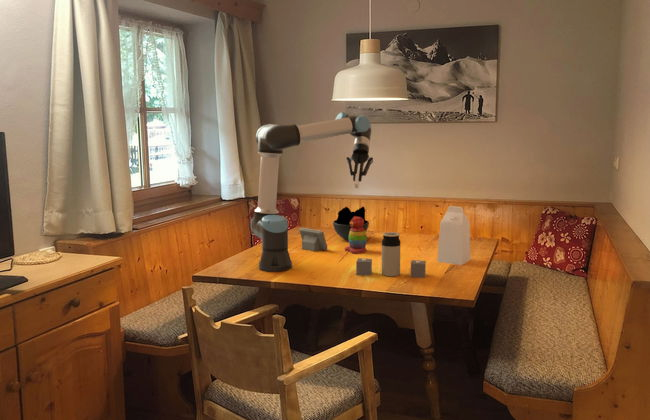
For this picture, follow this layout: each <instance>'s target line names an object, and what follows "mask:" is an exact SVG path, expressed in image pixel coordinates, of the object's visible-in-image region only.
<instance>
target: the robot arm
mask: <svg viewBox="0 0 650 420" xmlns="http://www.w3.org/2000/svg"><path fill="white" fill-rule="evenodd" d="M344 135H350V136H352V137H353V138H354V141H353V149H352V154H351V156H349V157H348V156H347V157H346V162H347V163H348V167H349V174H350V176H351V177H353V178H352V179H353V180H352V181H353V182H354V188H355V189H359V186H360V182H362V179H363V176H364V177H365V176H367V174H368V172H369V169H370V167H371V164H373V163H374V159H373V156H372V157H371V156H369V152H370V143H371V135H372V124H371V121H370V119H369V117H368V116H366V115H363V114H361V115H349V114H348V113H346V112H343V111H341V112H339V113H338V114H337V116H336V117H335V119H332V120H324V121H319V122H313V123H306V124H301V125H298V124H297V123H292V124H279V123H278V124H275V123H268V124H264V125H262V126H260V128H258V129H257V131H256V134H255V141H256V143H257V153H258V155H259V156H260V163H259V164H260V165H259V179H258V180H259V181H258V196H257V197H258V198H257V207H256V208H255V209H254V211H253V217H252V218H251V221H250V229H251V231H252V232H251V233H252V234H254V235H255V236H256V238H258V239H260V240H261V244H262V246H261V255H260V259H259V262H258V269H259V270H261V271H264V272H283V271H288V270H291V269H292V268H293V262H292V260H291V255H290V253H289V241H288V240H289V236H288V235H289V233H288V231H289V229H288V227H289V224H288V219H287V217H286V216H284V215H279V213H280V211H278V209H277V199H278V198H277V196H278V184H279V183H278V182H279V167H280V157H281V156H282V155H283V153H284V150H285V149H288V148H292V147H297V146H300V145H301V144H302V143H305V142H312V141H316V140H321V139H327V138H333V137H339V136H344ZM352 162H354V167H353V166H352ZM365 163H366V164H365ZM364 164H365V166H364ZM358 167H359V169H358ZM353 168H354V169H353ZM358 170H359V171H358Z"/></svg>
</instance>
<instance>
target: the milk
mask: <svg viewBox="0 0 650 420" xmlns="http://www.w3.org/2000/svg"><path fill="white" fill-rule="evenodd" d="M470 229H471V223H470V220H469V217H467V215H466V214H465V212H464V209H463V207H462V206H456V205H455V206H453V205H449V206H448V208H447V210H446V212H445V214H444V215H443V216H442V219H441V220H440V224H439V234H438V244H437V245H438V246H437V258H436V259H437V260H436V263H442V264H443V263H444V264H451V265H459V266H462V265H464V264H466V263H469V261H471V230H470Z"/></svg>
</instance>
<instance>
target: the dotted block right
mask: <svg viewBox="0 0 650 420" xmlns="http://www.w3.org/2000/svg"><path fill="white" fill-rule="evenodd" d="M426 266H427V265H426V260H419V259H418V260H415V259H414V260H411V261H410V278H423V279H425V278H426Z"/></svg>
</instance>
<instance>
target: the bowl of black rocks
mask: <svg viewBox="0 0 650 420" xmlns="http://www.w3.org/2000/svg"><path fill="white" fill-rule="evenodd" d="M354 216H356V217H361V218H362V219H363V220H364V225H363V228H364V229H365V231H366V232H367V231H368V228H369V225H370V222H369V221H368V220H366V207H365V206H361V207H360V208H357V209H356V210H355V211H351V209H350V208H349V207H348V206H345V207H343V208H342V209H340V210H338V213H337V218H336V219H335V220H333V222H332V226H333V229H334V231H335V233H336V235H338V236H339V237H340V238H342V239H344V240H347V241H349V232H350V229H351V228H352V227H351V225H350V221H351V220H352V219H353V218H354Z"/></svg>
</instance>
